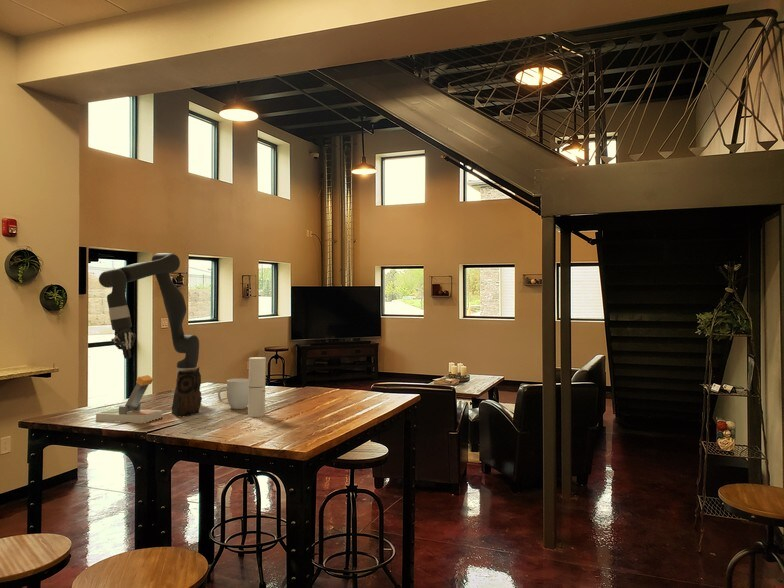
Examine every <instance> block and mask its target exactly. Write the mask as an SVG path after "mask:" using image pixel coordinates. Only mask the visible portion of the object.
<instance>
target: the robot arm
mask: <svg viewBox="0 0 784 588" xmlns="http://www.w3.org/2000/svg"><path fill="white" fill-rule="evenodd" d="M180 264H181V260H180V258H179V256H178V255H177V254H175V253H170V252H159V253H155V254H153V255H152V257H151V261H143V262H142V261H141V262H136V263H132V264H128V265H125V266H122V267H120V268H115V269H110V270H106V271H102V272H101V273H100V275H99V276H98V277H99V278H98V282H99V284H100V286H102V287H104V288H107V289H109V288H110V289H111V292H110V293H108V294H107V296H106V300H107V306H108V315H109V321H110V325H111V329H112V331H114V338H111V340H110V341H111V342H112V344H113V345H114V346H115V347H116V348H117V349H118V350H121V351H122V355H123V358H124V359H126V360H127V359H130V358H132V351H131V349H132V347H134V345H135V341H136V337H137V334H136V333H133V331H132V329H131V328H132V326H133V324H132V318H131V314H130V309H129V306H128V302H127V297H126V294H127V285H128V284H127V283H131V282H135V281H138V280H142V279H144V278H148V277H151V276H155V278H156V281H157V284H158V286H159V290H160V293H161V296H162V299H163V305H164V309H165V311H166V315H167V319H168V322H169V327H170V332H171V333H170V334H171V339H172V345H173V348H174V351H175V352H176V353H178V354H185V357H184V358H183V359H181V360H179V361H177V362H176V375H177V374H178V372H179V371H184V370H187V369H194V368H198V366H197V365H198V362H199V355H200V354H199V353H200V352H199V351H200V340H199V338H198V336H197V335H195V334H185V332H184V328H183V322H184V320H185V316H186V314H187V304H186V301H185V298H184V295H183V293H182V292H181V290H180V289H179V288H178V286H176V284H175V283H174V281H173V280H172V278H171V276H170V274H172V273H174V272H176V271H178V270H179V268H180V266H181V265H180Z"/></svg>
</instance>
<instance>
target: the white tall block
mask: <svg viewBox="0 0 784 588" xmlns="http://www.w3.org/2000/svg"><path fill="white" fill-rule="evenodd" d="M266 367H267V357H264V356H263V357H261V356H259V357H255V356H254V357H253V356H252V357H249V358H248V379H249V388H248V405H247V416H248V417H251V418H260V417H264V416H266V413H265V412H266V372H267V371H266V370H267V369H266Z"/></svg>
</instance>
